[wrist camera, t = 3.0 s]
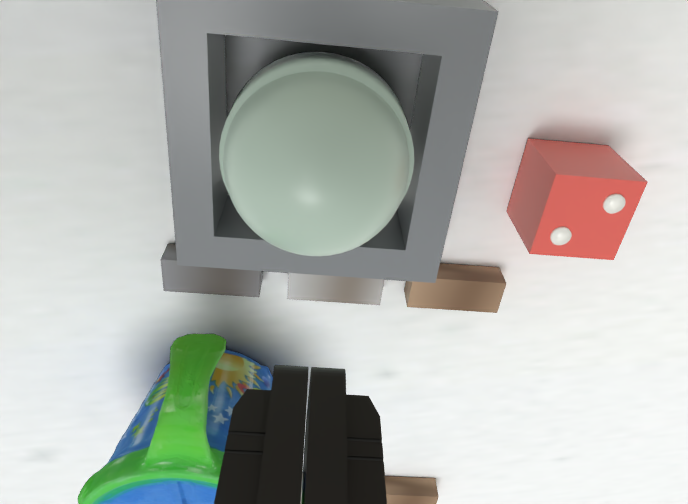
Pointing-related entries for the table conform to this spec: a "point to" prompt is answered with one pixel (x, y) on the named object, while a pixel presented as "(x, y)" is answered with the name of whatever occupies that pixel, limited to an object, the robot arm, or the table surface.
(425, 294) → the track markers
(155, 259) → the table surface
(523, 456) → the table surface
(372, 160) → the dome
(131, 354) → the table surface
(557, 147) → the red die
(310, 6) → the frame
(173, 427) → the snack cup
